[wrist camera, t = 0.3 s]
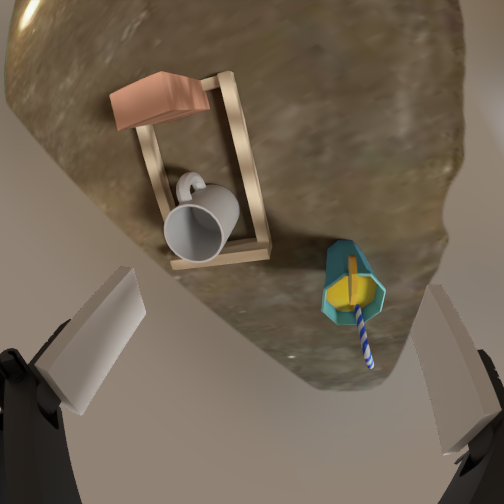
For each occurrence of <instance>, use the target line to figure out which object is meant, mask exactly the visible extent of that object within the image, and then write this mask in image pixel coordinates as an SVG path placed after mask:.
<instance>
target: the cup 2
mask: <svg viewBox="0 0 504 504" xmlns="http://www.w3.org/2000/svg"><path fill="white" fill-rule="evenodd" d="M385 292H386V289H385V288H384V286H383V285H382V284H381V283H380V281H379V280H378V279H377V278H376V276H375V274H374V272H373V270H372V268H371V267H370V265H369V263H368V261H367V260H366V258H365V256H364V254H363V253H362V251H361V249H360V248H359V247H358V246H357V245H356V244H355V243H354V242H353V241H350V240H338V241H336V242H335V243H334V244H333V245H332V246H331V247H329V248H328V249H327V260H326V281H325V284H324V288H323V299H322V309H321V311H322V312H323V313H325V314H326V315H327V316H328V317H329V318H330V319H331V320H333V321H334V322H335V323H336V324H337V325H357V327H358V331H359V336H360V341H361V346H362V350H363V356H364V358H365V361H366V364H367V366H368V368H370V369H372V368H373V367H374V363H373V359H372V355H371V352H370V348H369V344H368V339H367V335H366V330H365V326H364V322H366V321H367V320H369V319H370V318H372V317H373V316H375V315H376V314H377V313H379V312H380V311H381V309H382V305H383V301H384V297H385Z"/></svg>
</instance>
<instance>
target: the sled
mask: <svg viewBox="0 0 504 504" xmlns="http://www.w3.org/2000/svg"><path fill="white" fill-rule="evenodd" d="M220 87H221V91H222V95H223V99H224V103H225V107H226V111H227V116H228V120H229V124H230V128H231V132H232V136H233V140H234V145H235V149H236V153H237V157H238V161H239V165H240V170H241V174H242V178H243V182H244V186H245V191H246V195H247V199H248V203H249V208H250V212H251V216H252V220H253V225H254V229H255V233H256V238H249V239H242V240H234V241H227V242H226V243H225V244H224V246H223V248H222V250H221V251H220V253H219V254H218V256H216V257H215V258H214V259H212V260H210V261H208V262H204V263H193V262H189V261H186V260H184V259H182V258H180V257H179V256H177V255H176V254H175V255H174V257H173V258H172V259H171V260H170V262H171V265H172V268H173V270H178V269H187V268H196V267H205V266H214V265H223V264H231V263H240V262H249V261H257V260H266V259H270V254H271V250H272V240H271V236H270V231H269V226H268V222H267V217H266V212H265V208H264V203H263V199H262V194H261V189H260V185H259V180H258V176H257V171H256V167H255V163H254V158H253V154H252V149H251V145H250V141H249V136H248V132H247V128H246V124H245V119H244V115H243V111H242V107H241V103H240V98H239V94H238V90H237V86H236V82H235V78H234V74H233V72H231V71H226V72H222V73H219V74H217V76H214V77H210V78H207V79H203V80H197V79H193V78H189V77H185V76H180V75H176V74H171V73H166V72H162V71H160V72H158V73H155V74H153V75H151V76H148V77H146V78H144V79H141V80H139V81H137V82H135V83H132V84H130V85H128V86H126V87H124V88H122V89H120V90H118V91H116V92H114V93H112V94H110V99H111V104H112V108H113V112H114V116H115V120H116V124H117V128H118V131H119V130H124V129H129V128H134V127H136V130H137V134H138V137H139V141H140V145H141V148H142V152H143V156H144V159H145V163H146V166H147V169H148V173H149V176H150V179H151V183H152V186H153V189H154V192H155V196H156V199H157V202H158V205H159V208H160V211H161V214H162V217H163V220H164V223H165V220H166V218H167V216H168V214H169V213H170V212H171V211H172V210H173V209H174V208H176V205H175V202H174V199H173V196H172V192H171V189H170V186H169V182H168V179H167V176H166V172H165V169H164V165H163V162H162V158H161V154H160V151H159V147H158V144H157V140H156V136H155V132H154V128H153V125H152V124H157V123H164V122H170V121H173V120H176V119H179V118H182V117H185V116H188V115H192V114H195V113H198V112H202V111H205V110H209V109H210V107H209V103H208V99H207V95H206V91H209V90H212V89H216V88H220Z"/></svg>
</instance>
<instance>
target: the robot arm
mask: <svg viewBox="0 0 504 504" xmlns="http://www.w3.org/2000/svg"><path fill="white" fill-rule="evenodd" d="M145 315H146V311H145V308H144V304H143V301H142V297H141V294H140V291H139V287H138V283H137V280H136V276H135V272H134V268H133V267H124V266H120V267H119V268H118V269H117V270H116V271H115V272H114V274H112V275H111V276H110V278H109V279H108V280H107V281H106V282H105V283H104V284H103V285H102V286H101V287H100V288H99V289H98V290H97V291H96V292H95V294H94V295H93V296H92V297H91V298H90V299H89V300H88V301H87V302H86V303H85V304H84V306H83V307H82V308H81V309H80V310H79V311H78V313H77V314H76V315H75V316H74V317H73V318H72V319H69V320H67V321H66V322H65V323H63V324H61V325H60V326H59V327H58V329H57V330H56V331H55V332H54V335H52V336H51V337H50V338H49V339H48V342H46V343H45V344H44V345H43V346H42V348H41V349H40V350H39V352H38V353H37V354H36V355H35V356H34V358H33V359H32V360H31V361H30V363H29V364H28V365H27V364H26V362H25V360H24V359H23V357H22V356H21V355H20V353H19V352H18V350H17V349H14V348H10V349H7V350H5V351H3V352H2V353H1V354H0V408H1V412H0V504H82V502H81V499H80V495H79V492H78V489H77V485H76V481H75V478H74V474H73V470H72V466H71V461H70V458H69V452H68V447H67V442H66V436H65V431H64V424H63V417H62V411H61V408H60V407H59V405H60V403H61V402H62V403H63V404H64V405H65V406H66V407H67V409H68V410H70V411H72V412H74V413H76V414H78V415H81V416H82V415H83V413H84V412H85V410H86V408H87V407H88V404H89V403H90V402H91V400H92V398H93V397H94V395H95V393H96V392H97V390H98V388H99V387H100V385H101V383H102V381H103V380H104V378H105V377H106V375H107V373H108V372H109V370H110V369H111V367H112V365H113V364H114V362H115V360H116V359H117V357H118V356H119V354H120V353H121V351H122V349H123V348H124V346H125V345H126V343H127V342H128V340H129V339H130V337H131V336H132V334H133V333H134V331H135V329H136V328H137V327H138V325H139V323H140V322H141V320H142V319H143V317H144V316H145ZM410 333H411V336H412V339H413V342H414V345H415V348H416V351H417V354H418V357H419V361H420V364H421V367H422V370H423V374H424V377H425V381H426V384H427V388H428V391H429V395H430V400H431V404H432V407H433V412H434V416H435V420H436V425H437V430H438V435H439V440H440V445H441V450H442V455H446V454H450V453H454V452H458V451H460V450H461V449H462V448H463V447H464V446H466V445H467V444H468V447H469V450H468V451H467V452H466V453H465V454H464V455H462V456H461V457H460V458H459V459H457V461H456V462H455V463H454V464H458V463H459V462H460V461H462V462H461V464H460V466H459V468H458V470H457V472H456V473H455V475H454V477H453V479H452V481H451V483H450V485H449V486H448V488H447V490H446V491H445V493H444V495H443V496H442V498H441V500H440V501H439V502H438V504H504V387H503V384H502V382H501V380H500V379H499V375H498V373H497V371H495V366H494V364H493V362H492V360H491V358H490V357H489V356H488V355H487V354H486V352H485V351H483V349H482V350H477V349H476V347H475V345H474V343H473V341H472V339H471V337H470V335H469V333H468V331H467V329H466V327H465V325H464V323H463V321H462V320H461V318H460V316H459V314H458V312H457V311H456V309H455V307H454V305H453V303H452V302H451V300H450V298H449V297H448V295H447V293H446V291H445V290H444V288H443V287H442V285H432V284H427V287H426V290H425V293H424V296H423V299H422V301H421V304H420V307H419V310H418V313H417V315H416V318H415V321H414V323H413V326H412V328H411V331H410Z"/></svg>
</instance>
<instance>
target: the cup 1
mask: <svg viewBox="0 0 504 504" xmlns="http://www.w3.org/2000/svg"><path fill="white" fill-rule="evenodd" d="M191 185H192V186H193V187H194V190H195V192H194V193H192V194H190V186H191ZM176 194H177V198H178V201H179V203H180V204H179V205H178V206H177V207H176V208H174V209H173V210H172V211H171V212H170V213H169V214H168V216H167V218H166V220H165V224H164V235H165V238H166V241H167V244H168V245H169V247H170V248H171V250H172V251H173V252H174V253H175V254H176V255H177V256H179V257H180V258H182V259H184V260H186V261H189V262H193V263H204V262H208V261H210V260H212V259H214V258H215V257H216V256H218V254H219V253H220V251H221V250H222V248H223V246H224V244H225V243H226V241H227V239H228V237H229V235H230V234H231V232H232V230H233V228H234V227H235V225H236V223H237V220H238V217H239V205H238V201H237V199H236V198H235V196H234V195H233V194H232V193H231V191H229V190H228V189H226V188H225V187H223V186H220V185H213V184H210V185H205V183H204V181H203V179H202V177H201V176H200V175H199V174H197V173H195V172H186V173H185V174H183V175H182V176H181V177H180V179H179V180H178V182H177V185H176Z"/></svg>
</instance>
